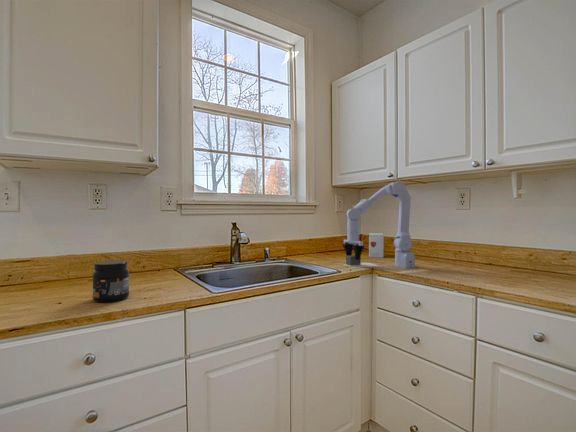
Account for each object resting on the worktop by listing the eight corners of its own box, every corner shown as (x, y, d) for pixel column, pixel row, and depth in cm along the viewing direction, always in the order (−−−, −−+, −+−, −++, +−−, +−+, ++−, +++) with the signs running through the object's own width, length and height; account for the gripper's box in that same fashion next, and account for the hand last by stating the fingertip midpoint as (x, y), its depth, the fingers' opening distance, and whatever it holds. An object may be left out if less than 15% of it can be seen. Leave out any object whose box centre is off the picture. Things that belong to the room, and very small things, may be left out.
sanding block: (360, 265, 159) (360, 256, 159) (350, 266, 157) (350, 256, 157) (355, 264, 163) (355, 255, 163) (346, 265, 160) (346, 255, 160)
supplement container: (91, 297, 103) (91, 261, 103) (126, 293, 109) (126, 259, 109) (93, 305, 95) (93, 266, 94) (131, 300, 101) (131, 262, 101)
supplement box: (368, 257, 199) (368, 233, 199) (369, 255, 207) (369, 232, 207) (383, 257, 196) (383, 234, 196) (383, 256, 205) (383, 233, 205)
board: (380, 268, 159) (380, 265, 159) (354, 270, 153) (354, 267, 153) (367, 264, 170) (367, 262, 170) (342, 266, 164) (342, 264, 164)
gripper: (338, 231, 165) (338, 257, 165) (354, 233, 151) (354, 261, 151) (350, 231, 167) (350, 256, 167) (366, 232, 154) (366, 260, 154)
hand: (353, 258), depth 160 cm, fingers open, 7 cm apart
